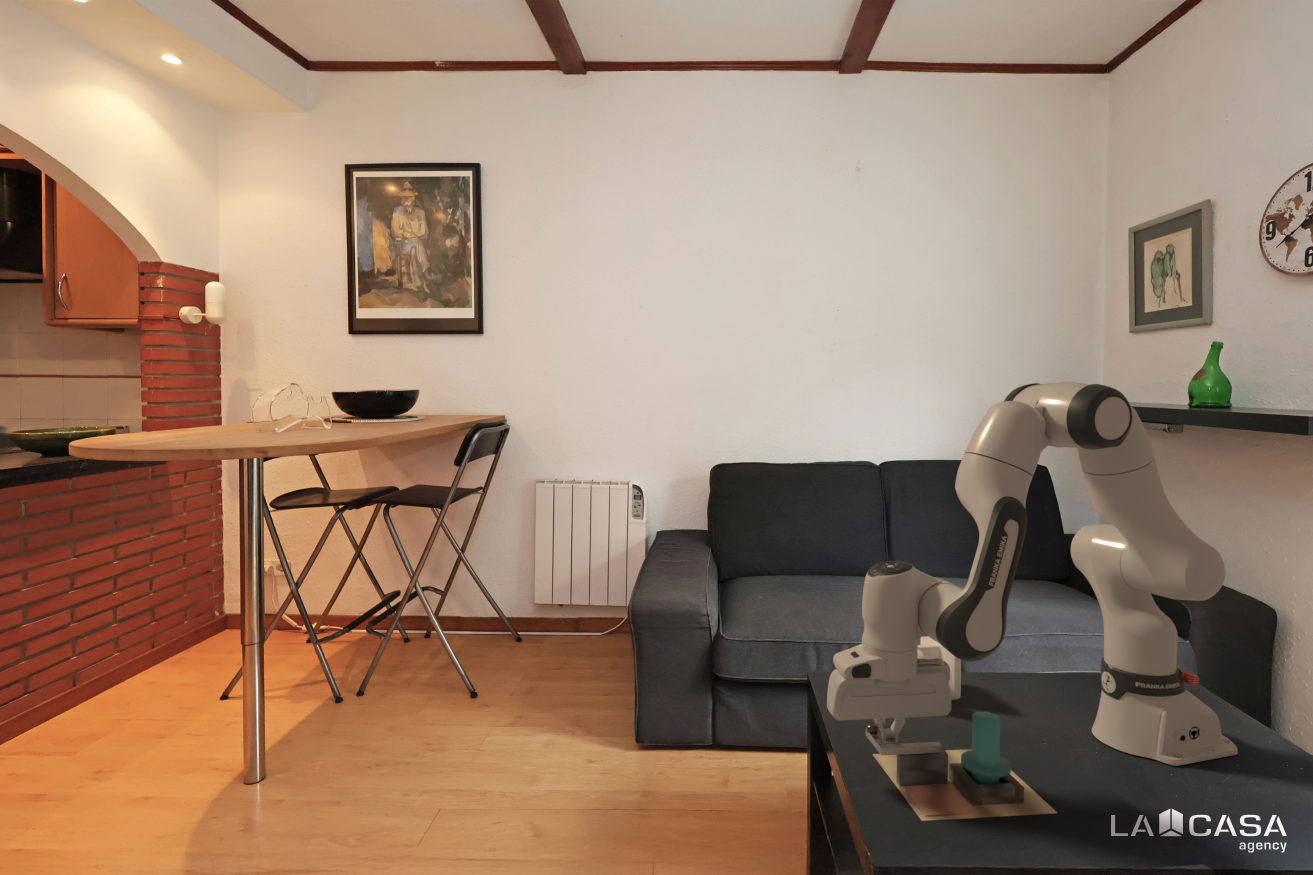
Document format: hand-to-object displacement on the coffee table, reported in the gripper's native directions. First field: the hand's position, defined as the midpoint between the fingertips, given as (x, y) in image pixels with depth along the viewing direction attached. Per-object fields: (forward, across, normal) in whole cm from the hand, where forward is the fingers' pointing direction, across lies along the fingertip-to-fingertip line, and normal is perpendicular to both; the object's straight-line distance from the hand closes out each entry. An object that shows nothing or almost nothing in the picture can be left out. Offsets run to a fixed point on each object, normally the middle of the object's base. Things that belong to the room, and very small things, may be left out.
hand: (888, 741), depth 122 cm
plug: (+5, -13, +7) cm, 16 cm away
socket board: (+6, -10, +4) cm, 13 cm away
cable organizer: (+6, -20, -32) cm, 38 cm away
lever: (0, -2, +1) cm, 2 cm away
